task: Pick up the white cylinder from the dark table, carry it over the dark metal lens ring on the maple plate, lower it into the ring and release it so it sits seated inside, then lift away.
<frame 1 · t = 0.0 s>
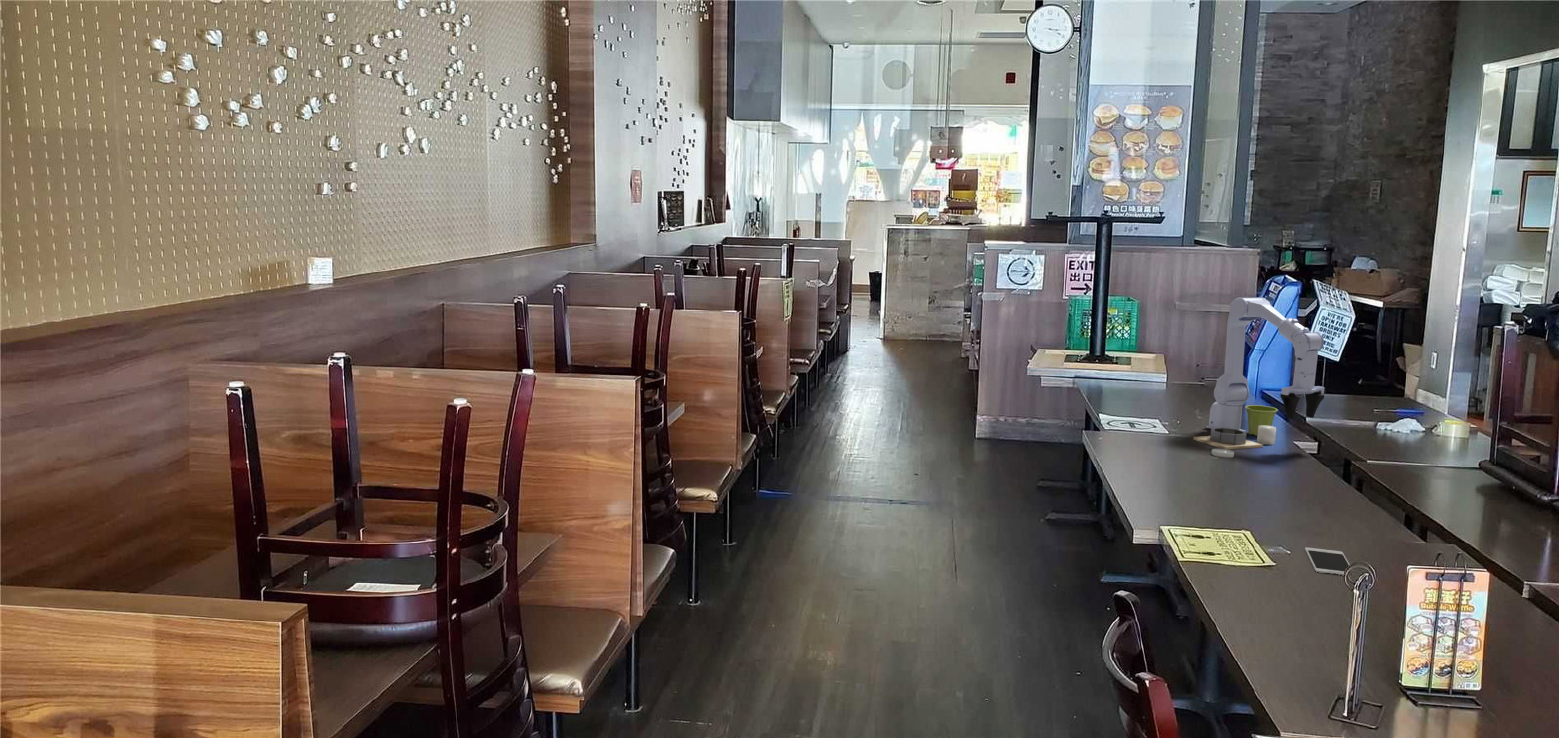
hand: (1299, 417, 314), 10 cm above the table, tool pointing down, fingers open, 7 cm apart
mount plate: (1227, 443, 323), on the table
plant pot: (1258, 435, 337), on the table
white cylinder: (1265, 442, 325), on the table
smartphone: (1328, 565, 215), on the table
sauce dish: (1222, 456, 307), on the table
lens ring: (1228, 436, 322), on the mount plate, point 2 cm above the table
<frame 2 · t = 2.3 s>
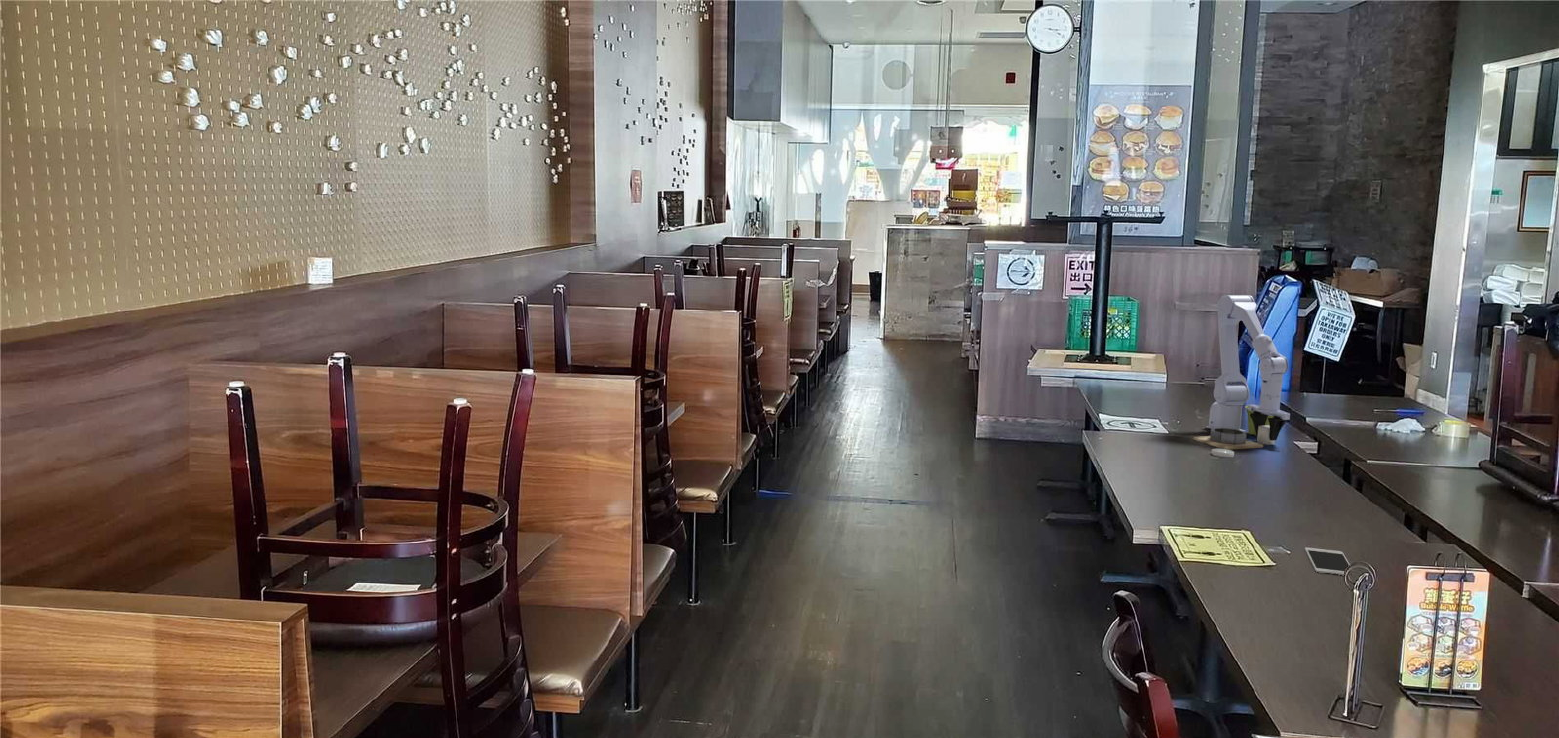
hand: (1266, 438, 325), 1 cm above the table, tool pointing down, fingers closed on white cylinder, 5 cm apart
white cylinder: (1265, 442, 325), on the table, touching gripper
everything else where it was.
when the fingers open (4 cm above the table, at t = 6.2 s): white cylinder drops 2 cm, resting on mount plate.
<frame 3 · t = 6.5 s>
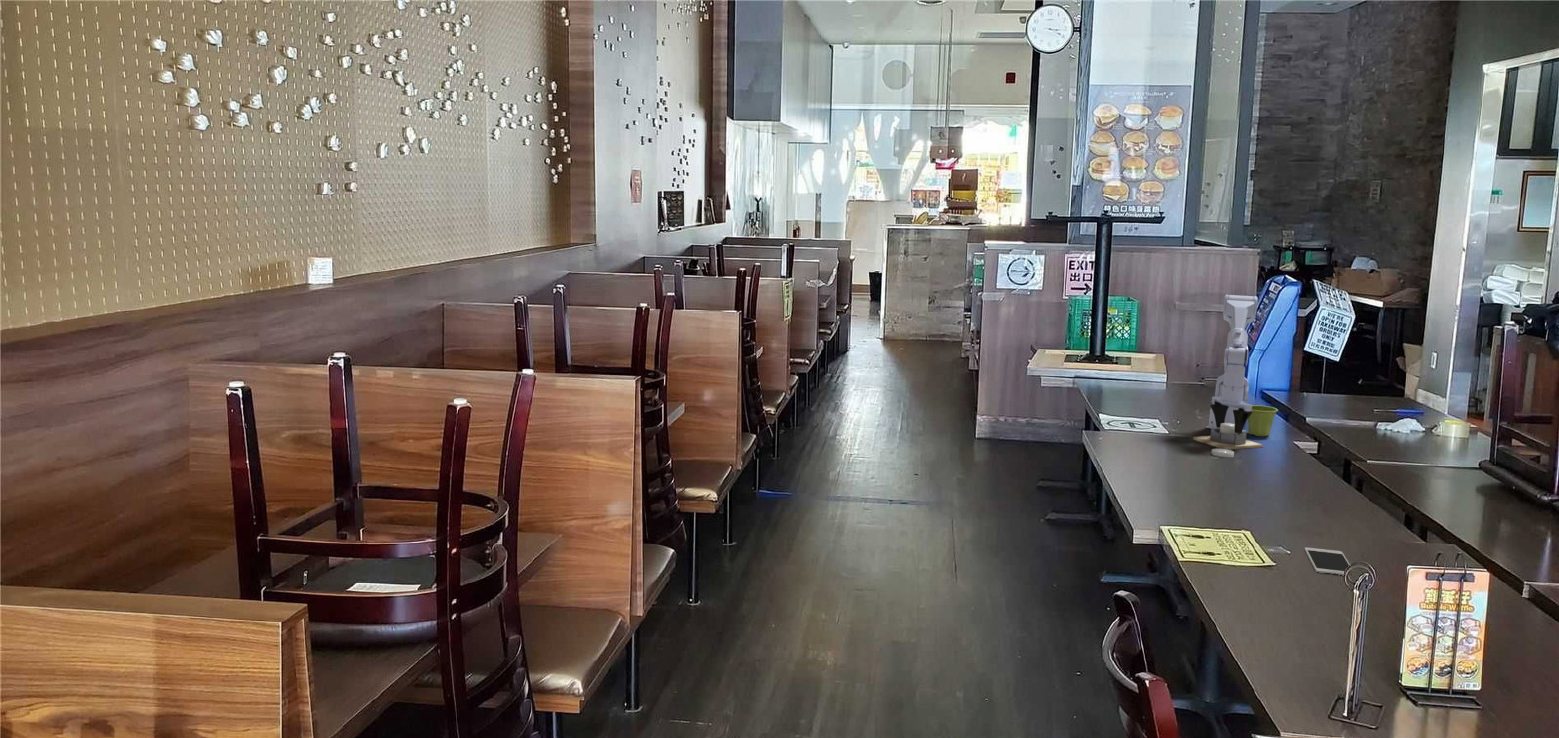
hand: (1228, 430, 322), 4 cm above the table, tool pointing down, fingers open, 7 cm apart
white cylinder: (1227, 440, 323), point 1 cm above the table, touching mount plate
everything else where it was.
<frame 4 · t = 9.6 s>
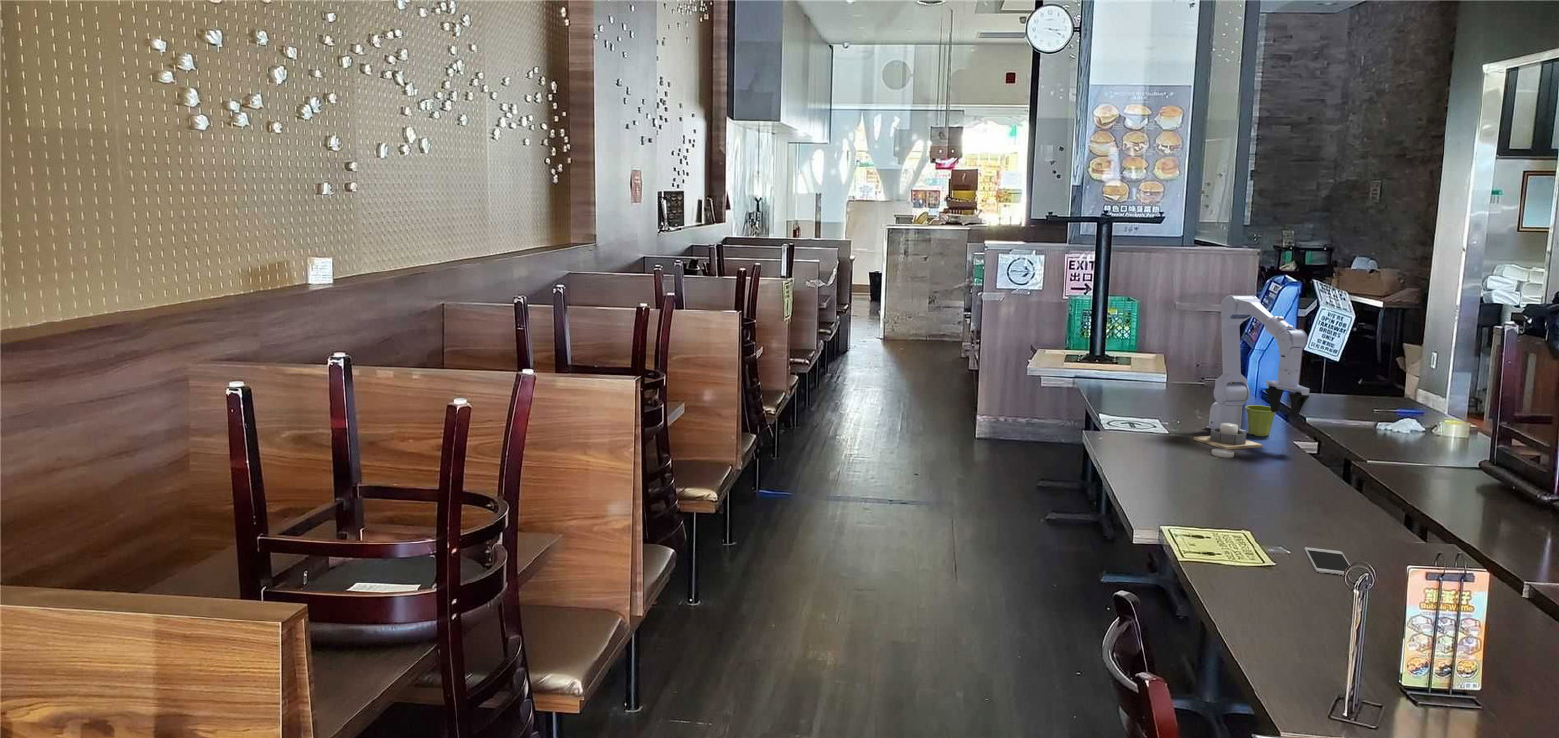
hand: (1284, 414, 317), 10 cm above the table, tool pointing down, fingers open, 7 cm apart
nothing on the table moved.
at the end: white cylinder 0.1 cm off-centre on the lens ring, point 0.8 cm above the lens ring's base; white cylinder tilted 0°; plant pot moved 0.2 cm from its start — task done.
